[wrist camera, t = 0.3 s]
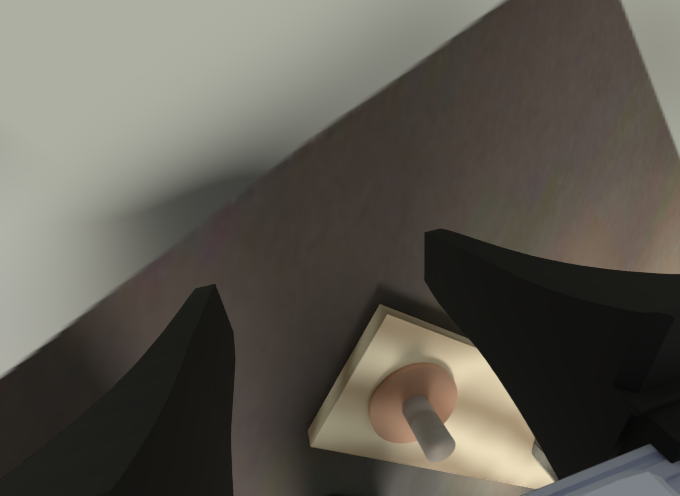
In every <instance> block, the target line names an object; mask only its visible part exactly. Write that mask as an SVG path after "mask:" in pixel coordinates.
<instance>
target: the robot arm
mask: <svg viewBox="0 0 680 496" xmlns="http://www.w3.org/2000/svg"><path fill="white" fill-rule="evenodd" d="M424 280H425V282H426V284H427V285H428V287H429V289H430V290H431V292H432V294H433V295H434V297H435V298H436V300H437V301H438V303H439V304H440V305H441V306H442V308H443V309H444V310H445V311H446V313H447V314H448V315H449V316H450V317H451V319H452V320H453V321H454V322H455V323H456V324H457V326H458V327H459V328H460V329H461V330H462V332H463V333H464V334H465V335H466V336H467V337H468V339H469V340H470V341H471V342H472V343H473V345H474V346H475V347H476V348H477V349H478V351H479V352H480V353H481V355H482V356H483V357H484V358H485V360H486V361H487V363H488V364H489V366H490V367H491V369H492V370H493V372H494V373H495V374H496V376H497V377H498V379H499V380H500V382H501V383H502V385H503V386H504V388H505V390H506V391H507V393H508V394H509V396H510V397H511V399H512V401H513V402H514V404H515V405H516V407H517V408H518V410H519V412H520V413H521V415H522V417H523V418H524V420H525V422H526V423H527V425H528V427H529V428H530V430H531V432H532V433H533V435H534V437H535V438H536V440H537V442H538V443H539V445H540V447H541V449H542V451H543V452H544V454H545V456H546V458H547V460H548V462H549V463H550V465H551V467H552V469H553V471H554V472H555V474H556V476H557V478H558V481H556V482H553V483H551V484H548V485H546V486H543V487H541V488H538V489H536V490H533V491H531V492H529V493H526V494H524V495H521V496H680V274H657V273H643V272H630V271H620V270H610V269H602V268H595V267H588V266H581V265H575V264H569V263H563V262H558V261H554V260H549V259H544V258H539V257H535V256H531V255H527V254H524V253H520V252H516V251H512V250H509V249H506V248H502V247H499V246H496V245H493V244H489V243H486V242H483V241H480V240H477V239H474V238H471V237H468V236H465V235H462V234H459V233H456V232H452V231H449V230H445V229H437V230H433V231H429V232H425V275H424ZM234 375H235V346H234V333H233V329H232V327H231V324H230V322H229V319H228V316H227V314H226V311H225V309H224V306H223V303H222V301H221V298H220V295H219V293H218V290H217V288H216V285H215V284H213V285H208V286H204V287H200V288H196V289H195V290H194V291H193V292H192V294H191V295H190V296H189V298H188V299H187V300H186V302H185V303H184V304H183V306H182V307H181V309H180V310H179V311H178V313H177V314H176V315H175V317H174V318H173V319H172V321H171V322H170V323H169V325H168V326H167V327H166V329H165V330H164V331H163V332H162V334H161V335H160V336H159V337H158V338H157V340H156V341H155V342H154V343H153V344H152V346H151V347H150V348H149V349H148V350H147V351H146V353H145V354H144V355H143V356H142V357H141V359H140V360H139V361H138V362H137V363H136V364H135V365H134V366H133V367H132V368H131V369H130V370H129V371H128V373H127V374H126V375H125V376H124V377H123V378H122V379H121V380H120V381H119V382H118V383H117V384H116V385H115V386H114V387H113V388H112V389H110V390H109V391H108V392H107V393H106V394H105V395H104V396H103V397H102V398H101V399H100V400H98V401H97V402H96V403H95V404H94V405H93V406H92V407H91V408H89V409H88V410H87V411H86V412H85V413H84V414H83V415H81V416H80V417H79V418H78V419H77V420H76V421H75V422H74V423H72V424H71V425H70V426H69V427H68V428H66V429H65V430H64V431H63V432H61V433H60V434H59V435H58V436H56V437H55V438H54V439H53V440H52V441H50V442H49V443H48V444H46V445H45V446H44V447H43V448H41V449H40V450H39V451H37V452H36V453H35V454H33V455H32V456H31V457H30V458H28V459H27V460H26V461H24V462H23V463H22V464H20V465H19V466H18V467H16V468H15V469H14V470H12V471H11V472H9V473H8V474H7V475H5V476H4V477H2V478H1V479H0V496H233V480H232V457H231V421H232V406H233V391H234Z"/></svg>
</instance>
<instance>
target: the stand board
mask: <svg viewBox="0 0 680 496" xmlns="http://www.w3.org/2000/svg"><path fill="white" fill-rule="evenodd" d="M308 435H309V441H310V446H311V447H315V448H320V449H326V450H331V451H336V452H342V453H347V454H352V455H358V456H363V457H368V458H374V459H379V460H384V461H390V462H395V463H400V464H406V465H411V466H416V467H422V468H427V469H432V470H438V471H443V472H448V473H454V474H459V475H464V476H470V477H475V478H481V479H486V480H491V481H497V482H502V483H507V484H513V485H518V486H523V487H529V488H534V489H538V488H541V487H543V486H546V485H548V484H551V483H553V482H554V481H553V480H552V479H551V478H550V477H549V475H548V474H547V473H546V472H545V471H544V470H543V468H542V467H541V466H540V465H539V464H538V463H537V461H536V460H535V459H534V457H533V455H532V447H533V443H534V442H535V439H536V438H535V437H534V435H533V433H532V432H531V430H530V428H529V427H528V425H527V423H526V422H525V420H524V418H523V417H522V415H521V413H520V412H519V410H518V408H517V407H516V405H515V404H514V402H513V401H512V399H511V397H510V396H509V394H508V393H507V391H506V390H505V388H504V386H503V385H502V383H501V382H500V380H499V379H498V377H497V376H496V374H495V373H494V372H493V370H492V369H491V367H490V366H489V364H488V363H487V361H486V360H485V358H484V357H483V356H482V355H481V353H480V352H479V351H478V349H477V348H476V347H475V346H474V345H473V343H472V342H471V341H470V340H469V339H468V338H466V337H463V336H461V335H458V334H456V333H453V332H451V331H448V330H445V329H443V328H440V327H438V326H435V325H433V324H430V323H427V322H425V321H422V320H420V319H417V318H414V317H412V316H409V315H407V314H404V313H402V312H399V311H396V310H394V309H391V308H389V307H386V306H384V305H381V304H380V305H379V306H378V308H377V310H376V312H375V313H374V315H373V317H372V319H371V320H370V322H369V324H368V326H367V327H366V329H365V331H364V333H363V334H362V336H361V338H360V340H359V341H358V343H357V345H356V347H355V348H354V350H353V352H352V354H351V355H350V357H349V359H348V361H347V362H346V364H345V366H344V368H343V369H342V371H341V373H340V375H339V376H338V378H337V380H336V382H335V383H334V385H333V387H332V389H331V390H330V392H329V394H328V396H327V397H326V399H325V401H324V403H323V404H322V406H321V408H320V410H319V411H318V413H317V415H316V417H315V418H314V420H313V422H312V424H311V426H310V427H309V429H308Z"/></svg>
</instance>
